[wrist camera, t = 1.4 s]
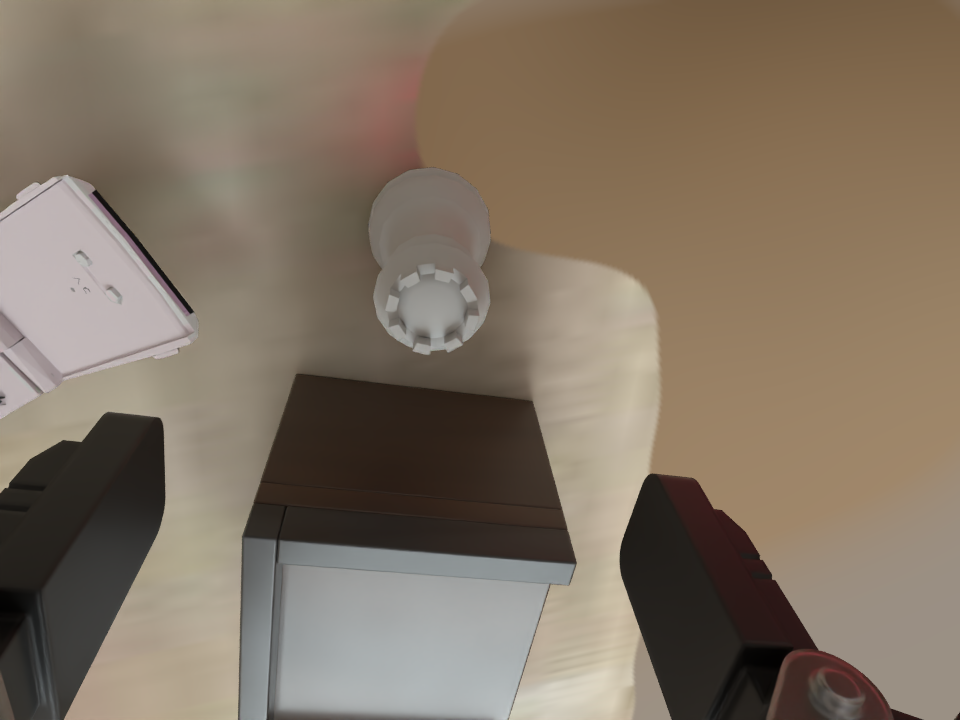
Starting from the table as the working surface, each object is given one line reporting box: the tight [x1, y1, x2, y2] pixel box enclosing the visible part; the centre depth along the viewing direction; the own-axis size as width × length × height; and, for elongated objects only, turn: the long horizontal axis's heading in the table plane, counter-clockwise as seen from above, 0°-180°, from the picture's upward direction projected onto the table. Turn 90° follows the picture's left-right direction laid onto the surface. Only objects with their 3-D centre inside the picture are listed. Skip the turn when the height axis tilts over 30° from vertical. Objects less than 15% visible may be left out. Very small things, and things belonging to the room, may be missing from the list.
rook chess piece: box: [368, 167, 491, 355], centre depth 22 cm, size 4×4×8 cm
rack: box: [238, 374, 577, 720], centre depth 27 cm, size 13×10×10 cm
